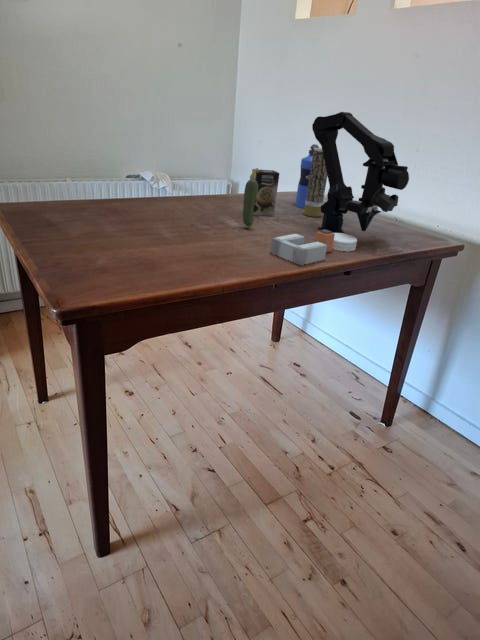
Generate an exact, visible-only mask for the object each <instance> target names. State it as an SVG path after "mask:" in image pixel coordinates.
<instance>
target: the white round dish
mask: <svg viewBox="0 0 480 640" xmlns="http://www.w3.org/2000/svg"><path fill="white" fill-rule="evenodd" d="M334 234H335V236H334V241H333V246H332V249H333V250H332V251H336V250H337V251H338V252H343V251H345V252H344V253H347V252H348V253H349V252H350V251H351V252H354V251H355V250H356V249H357V247H356V246H357V243H358V239H357V238H356V237H355V236H353V235H351V234H346V233H342V232H337V233H334ZM337 251H336V252H337Z"/></svg>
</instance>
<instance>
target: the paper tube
mask: <svg viewBox="0 0 480 640" xmlns="http://www.w3.org/2000/svg"><path fill="white" fill-rule="evenodd" d="M327 180H328V176H327V171H326V166H325V161H324V156H323V151H322V147H319V148H314V150H313V157H312V163H311V169H310V176H309V182H308V189H307V195H306V201H305V208H303V209H304V210H303V214H304V215H305V216H307V217H310V218H311V217H313V218H319V217H320V216H321V215H322V213H321V206H322V205H323V204H324V198H325V191H326V188H327V187H326V185H327Z"/></svg>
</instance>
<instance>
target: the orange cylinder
mask: <svg viewBox="0 0 480 640" xmlns="http://www.w3.org/2000/svg"><path fill="white" fill-rule="evenodd" d="M331 232H332V231H329V230H326V229H325V230H321V229H319V231H316V232H315V238H314V242H320V243H323V244H325V245H327V248H326V253H329V252H332V251H333V250H332V246H333V241H334V236H335V234H334V233H331Z"/></svg>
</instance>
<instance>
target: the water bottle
mask: <svg viewBox="0 0 480 640" xmlns="http://www.w3.org/2000/svg"><path fill="white" fill-rule="evenodd" d="M314 148H320V147H319V145H318V144H315V143H314V144H312V145H310V149H308V155H307V156H305V157H303V158H301V161H300V177H299V181H298V184H297V189H296V190H297V191H296V197H295V204H294V206H296V207H297V208H301V209H304V208H305V201H306V195H307V189H308V182H309V176H310V169H311V163H312V157H313V150H314Z"/></svg>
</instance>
